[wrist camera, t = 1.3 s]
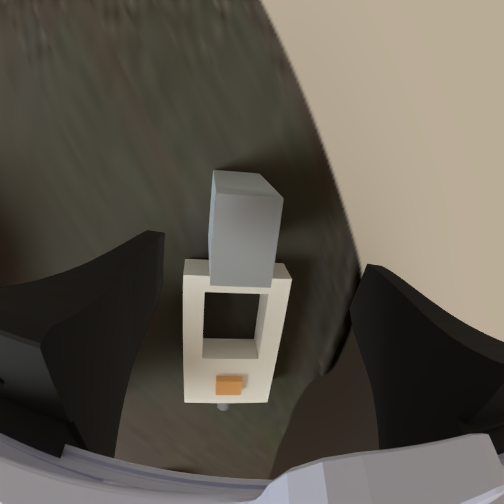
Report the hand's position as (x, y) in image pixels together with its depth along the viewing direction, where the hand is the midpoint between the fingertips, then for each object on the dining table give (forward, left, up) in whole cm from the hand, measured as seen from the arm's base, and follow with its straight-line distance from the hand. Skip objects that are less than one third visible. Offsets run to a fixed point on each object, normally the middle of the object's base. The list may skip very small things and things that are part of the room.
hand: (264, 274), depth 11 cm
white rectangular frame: (-9, -8, -11) cm, 16 cm away
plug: (0, 0, -11) cm, 11 cm away
